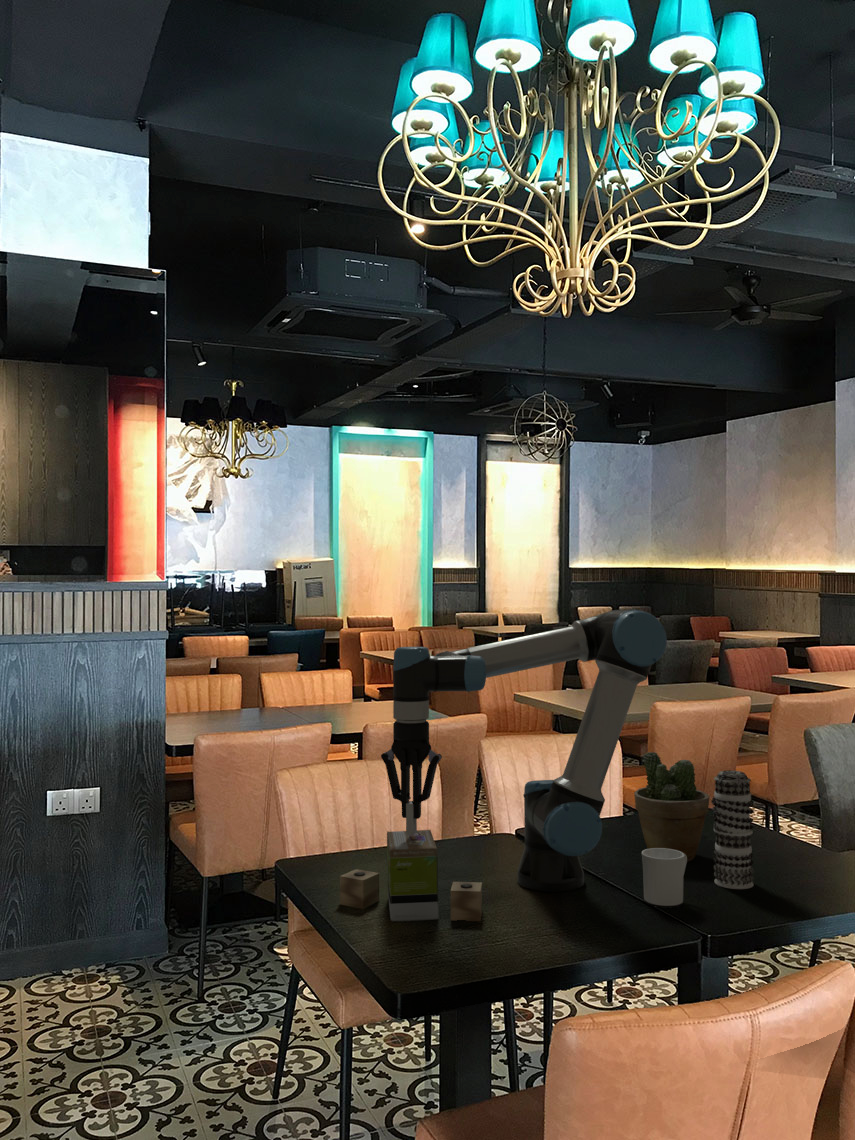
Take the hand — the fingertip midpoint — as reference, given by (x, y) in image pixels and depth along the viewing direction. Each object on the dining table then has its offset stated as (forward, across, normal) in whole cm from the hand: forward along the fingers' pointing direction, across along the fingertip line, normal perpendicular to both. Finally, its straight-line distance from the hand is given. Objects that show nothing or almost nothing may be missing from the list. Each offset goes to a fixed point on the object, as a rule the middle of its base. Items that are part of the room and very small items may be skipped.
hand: (411, 833), depth 196 cm
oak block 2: (+16, -12, +1) cm, 20 cm away
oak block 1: (+16, +12, -1) cm, 20 cm away
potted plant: (+16, -51, -56) cm, 77 cm away
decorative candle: (+16, -65, -36) cm, 76 cm away
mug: (+16, -51, -19) cm, 57 cm away
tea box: (+16, 0, 0) cm, 16 cm away
